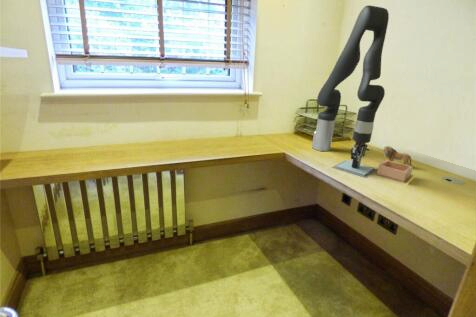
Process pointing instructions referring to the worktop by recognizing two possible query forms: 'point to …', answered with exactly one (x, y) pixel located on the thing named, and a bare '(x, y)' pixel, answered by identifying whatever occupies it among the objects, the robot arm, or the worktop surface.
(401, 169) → the dish
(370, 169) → the lid
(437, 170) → the worktop surface
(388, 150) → the lion figurine
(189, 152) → the worktop surface
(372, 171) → the mat
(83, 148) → the worktop surface
